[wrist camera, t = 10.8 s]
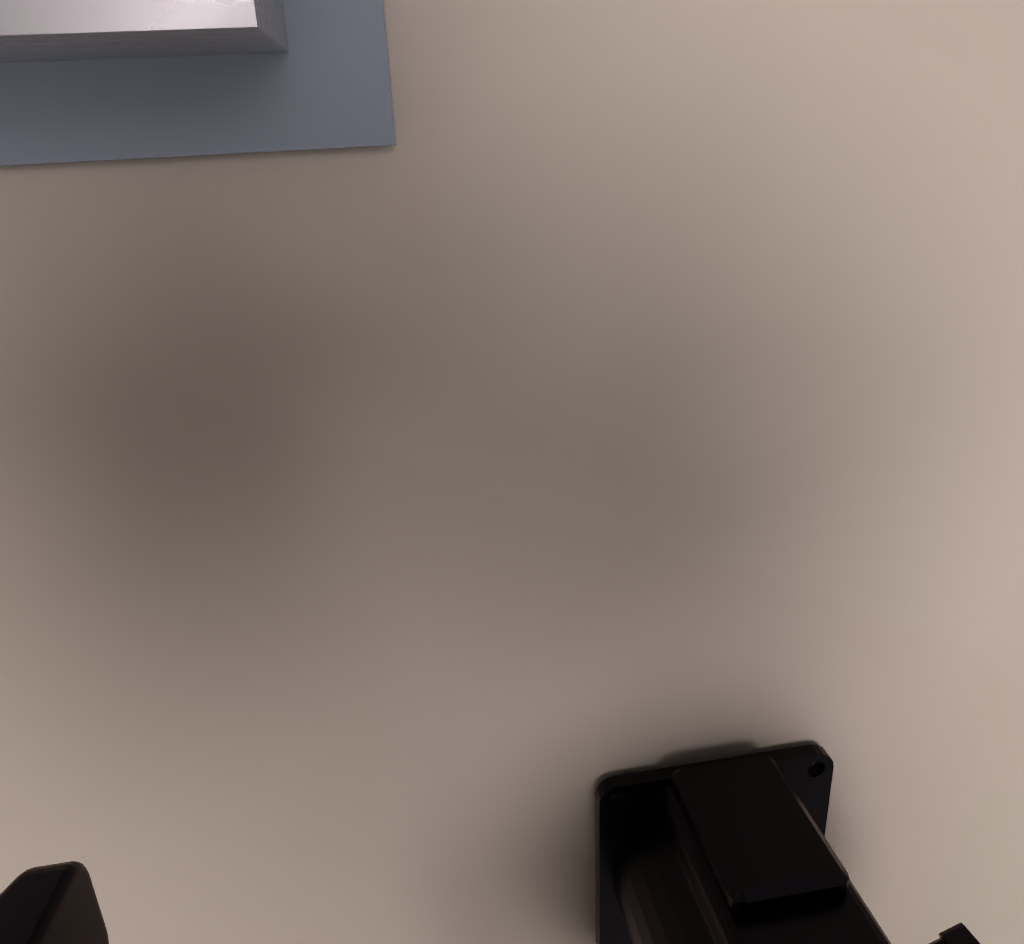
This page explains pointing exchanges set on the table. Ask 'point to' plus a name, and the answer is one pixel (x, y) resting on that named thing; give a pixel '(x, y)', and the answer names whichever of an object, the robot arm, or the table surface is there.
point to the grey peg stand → (210, 96)
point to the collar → (138, 29)
